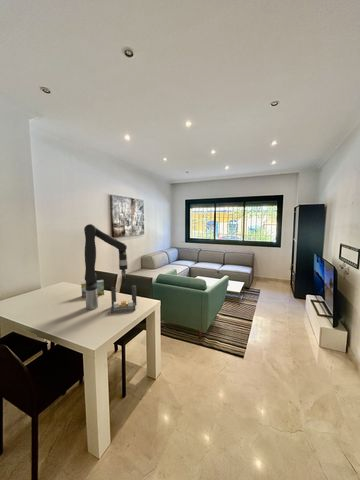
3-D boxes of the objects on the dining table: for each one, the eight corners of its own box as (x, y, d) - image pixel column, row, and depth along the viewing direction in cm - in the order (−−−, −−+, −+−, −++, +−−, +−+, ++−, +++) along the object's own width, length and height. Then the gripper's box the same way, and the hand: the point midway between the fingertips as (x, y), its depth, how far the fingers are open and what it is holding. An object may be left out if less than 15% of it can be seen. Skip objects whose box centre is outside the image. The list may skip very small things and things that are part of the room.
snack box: (81, 297, 199) (81, 283, 197) (82, 295, 204) (81, 281, 202) (104, 294, 207) (103, 281, 205) (104, 292, 212) (103, 279, 210)
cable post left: (111, 308, 176) (110, 288, 174) (112, 306, 180) (111, 287, 178) (116, 307, 177) (115, 288, 175) (116, 305, 181) (115, 286, 179)
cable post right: (132, 305, 180) (131, 287, 178) (132, 304, 184) (131, 285, 182) (136, 305, 181) (135, 286, 179) (136, 303, 185) (135, 285, 183)
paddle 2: (128, 306, 170) (128, 302, 170) (128, 304, 174) (128, 300, 174) (132, 305, 171) (132, 302, 171) (133, 303, 175) (132, 300, 175)
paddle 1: (113, 307, 168) (113, 303, 167) (114, 305, 172) (114, 302, 171) (118, 307, 169) (118, 303, 168) (119, 305, 172) (118, 301, 172)
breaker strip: (111, 313, 166) (111, 308, 166) (112, 309, 173) (112, 304, 172) (135, 310, 171) (135, 305, 170) (135, 307, 177) (135, 302, 177)
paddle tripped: (121, 307, 169) (120, 303, 169) (121, 305, 173) (121, 301, 173) (125, 306, 170) (125, 302, 170) (126, 304, 174) (125, 300, 173)
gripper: (119, 262, 190) (120, 280, 192) (118, 266, 177) (119, 284, 179) (127, 262, 191) (128, 279, 193) (127, 265, 178) (127, 283, 180)
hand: (124, 282), depth 186 cm, fingers closed
